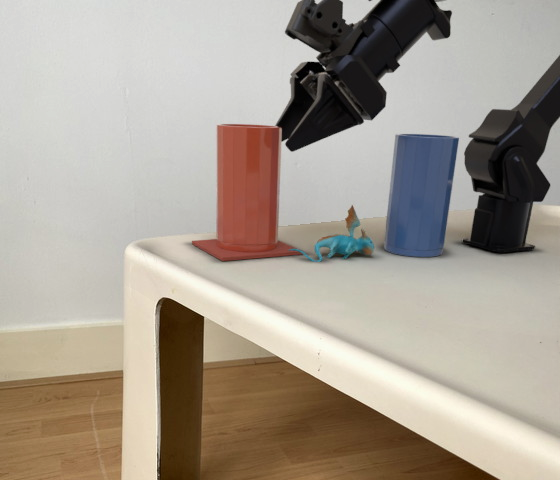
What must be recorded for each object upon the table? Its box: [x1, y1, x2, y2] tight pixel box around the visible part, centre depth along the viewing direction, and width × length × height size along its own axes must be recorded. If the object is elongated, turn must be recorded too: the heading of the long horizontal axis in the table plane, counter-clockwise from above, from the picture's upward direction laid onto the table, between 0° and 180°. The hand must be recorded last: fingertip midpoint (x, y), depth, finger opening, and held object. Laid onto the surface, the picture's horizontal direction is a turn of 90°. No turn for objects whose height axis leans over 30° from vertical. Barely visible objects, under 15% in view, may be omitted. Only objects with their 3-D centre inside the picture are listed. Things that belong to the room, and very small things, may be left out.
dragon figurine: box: [289, 204, 375, 263], centre depth 71 cm, size 6×7×8 cm
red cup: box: [215, 123, 282, 252], centre depth 71 cm, size 7×7×13 cm
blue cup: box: [383, 133, 460, 258], centre depth 73 cm, size 7×7×13 cm
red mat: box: [191, 238, 303, 262], centre depth 73 cm, size 10×9×1 cm
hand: (278, 145), depth 69 cm, fingers open, 9 cm apart
